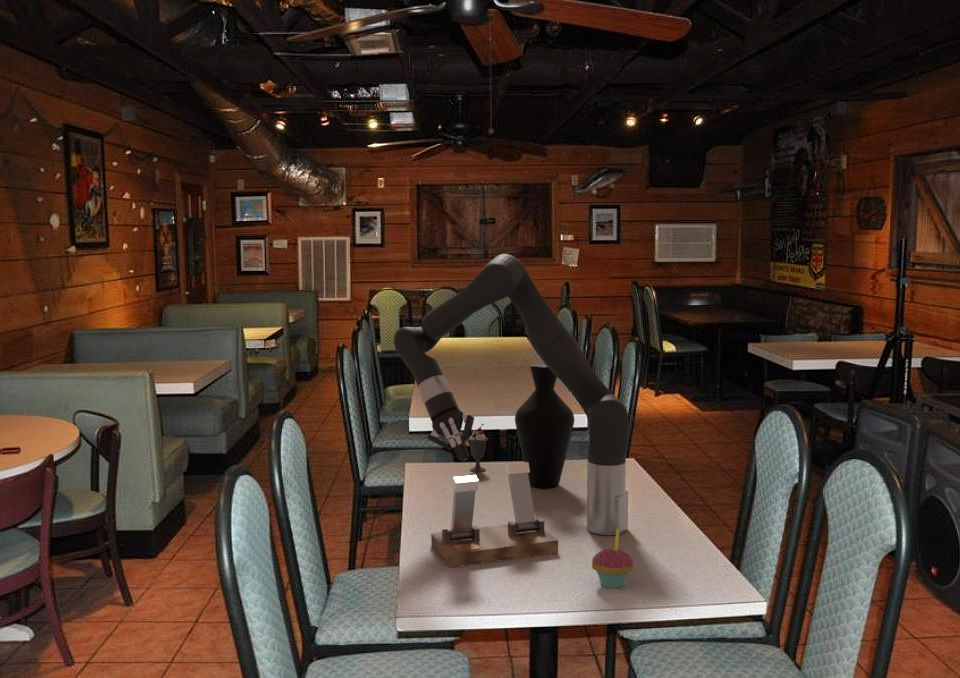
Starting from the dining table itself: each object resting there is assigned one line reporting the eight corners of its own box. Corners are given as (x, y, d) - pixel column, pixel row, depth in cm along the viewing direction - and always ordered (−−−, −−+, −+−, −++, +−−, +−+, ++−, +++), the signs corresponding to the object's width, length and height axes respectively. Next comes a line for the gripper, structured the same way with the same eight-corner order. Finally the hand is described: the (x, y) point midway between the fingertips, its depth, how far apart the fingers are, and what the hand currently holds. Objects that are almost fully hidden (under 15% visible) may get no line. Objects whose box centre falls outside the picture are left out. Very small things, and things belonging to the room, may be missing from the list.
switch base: (534, 532, 202) (534, 510, 202) (558, 552, 189) (558, 528, 188) (431, 545, 194) (431, 522, 193) (448, 567, 181) (448, 542, 180)
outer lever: (469, 534, 191) (475, 474, 185) (472, 540, 189) (478, 480, 183) (447, 537, 189) (453, 477, 183) (450, 543, 187) (456, 482, 181)
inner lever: (535, 530, 195) (524, 464, 200) (539, 529, 193) (528, 462, 198) (514, 533, 193) (504, 465, 198) (518, 532, 191) (507, 464, 196)
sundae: (488, 473, 255) (488, 425, 253) (466, 473, 255) (466, 425, 253) (488, 467, 261) (488, 420, 260) (467, 467, 262) (467, 420, 260)
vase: (506, 479, 248) (506, 363, 244) (560, 474, 253) (560, 360, 249) (527, 496, 231) (527, 372, 227) (583, 490, 236) (584, 369, 232)
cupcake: (605, 572, 178) (606, 518, 176) (641, 582, 172) (642, 526, 171) (583, 585, 171) (584, 529, 170) (620, 596, 166) (621, 538, 164)
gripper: (465, 387, 211) (492, 449, 206) (420, 410, 214) (446, 472, 208) (455, 383, 204) (484, 447, 199) (409, 407, 206) (436, 471, 201)
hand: (464, 459), depth 204 cm, fingers closed
